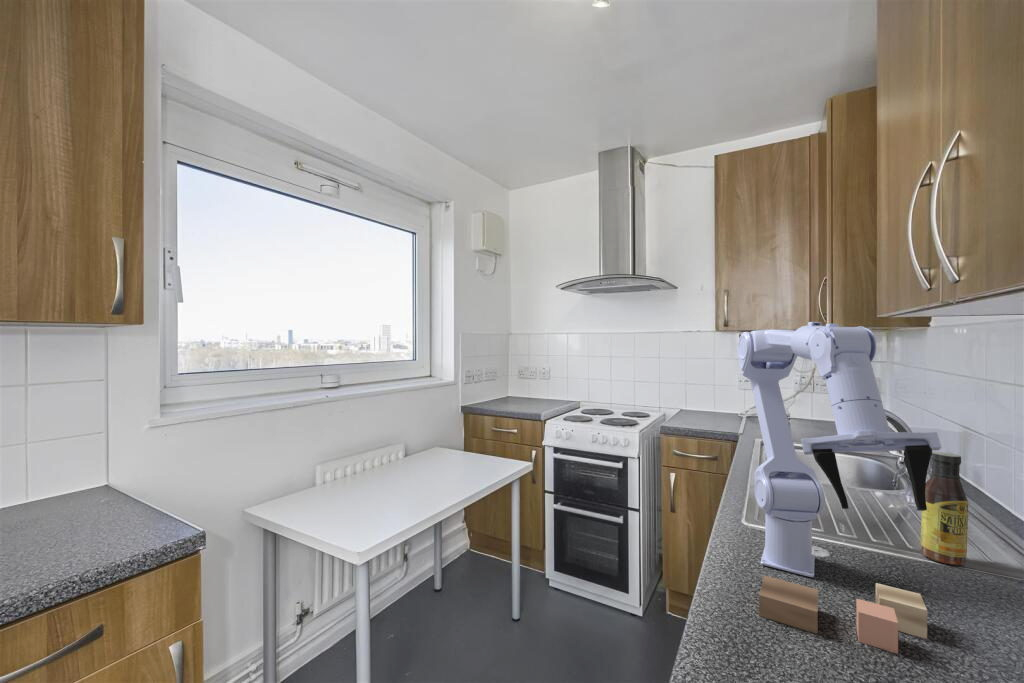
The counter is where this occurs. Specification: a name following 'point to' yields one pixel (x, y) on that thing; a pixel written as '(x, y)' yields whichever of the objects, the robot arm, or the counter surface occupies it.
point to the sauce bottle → (945, 512)
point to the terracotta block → (877, 625)
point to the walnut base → (789, 603)
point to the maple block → (904, 609)
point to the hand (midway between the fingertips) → (882, 509)
